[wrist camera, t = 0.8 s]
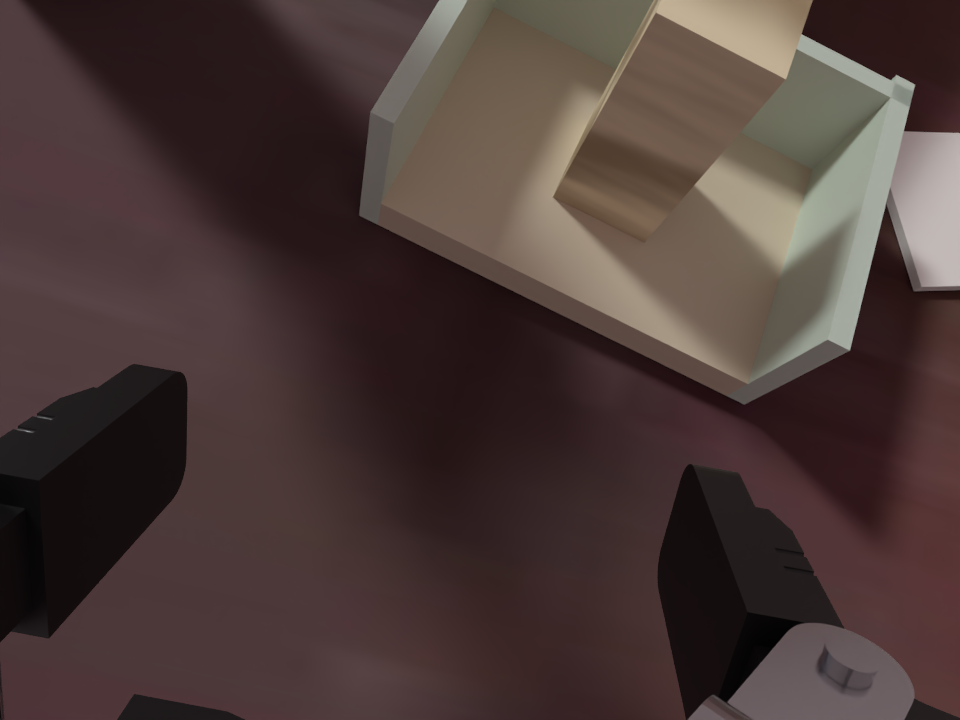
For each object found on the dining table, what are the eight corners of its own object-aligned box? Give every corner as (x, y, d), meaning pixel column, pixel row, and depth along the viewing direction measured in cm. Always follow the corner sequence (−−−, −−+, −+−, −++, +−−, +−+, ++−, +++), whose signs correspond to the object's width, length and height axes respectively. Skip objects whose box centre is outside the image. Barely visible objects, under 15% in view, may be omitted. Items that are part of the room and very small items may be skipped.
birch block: (644, 242, 37) (786, 79, 26) (552, 197, 37) (655, 12, 26) (674, 166, 39) (818, -17, 28) (587, 122, 39) (697, -80, 28)
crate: (744, 404, 38) (849, 350, 30) (358, 215, 37) (370, 112, 29) (812, 177, 43) (915, 84, 36) (480, 8, 42) (515, -123, 35)
